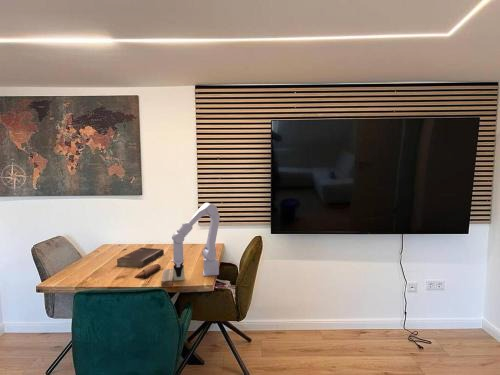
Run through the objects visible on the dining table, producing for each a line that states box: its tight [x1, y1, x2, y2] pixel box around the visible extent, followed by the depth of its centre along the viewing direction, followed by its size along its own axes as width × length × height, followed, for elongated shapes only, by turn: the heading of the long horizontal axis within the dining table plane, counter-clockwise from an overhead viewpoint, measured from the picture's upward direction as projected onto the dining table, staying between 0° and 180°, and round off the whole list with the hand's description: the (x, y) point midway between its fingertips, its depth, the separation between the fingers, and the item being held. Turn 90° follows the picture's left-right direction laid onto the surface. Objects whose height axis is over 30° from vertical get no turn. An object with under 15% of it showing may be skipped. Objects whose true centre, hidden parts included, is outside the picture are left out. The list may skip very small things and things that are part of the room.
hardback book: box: [116, 247, 165, 269], centre depth 217 cm, size 29×19×5 cm, turn 167°
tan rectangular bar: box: [160, 268, 174, 287], centre depth 181 cm, size 6×20×3 cm, turn 12°
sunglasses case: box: [133, 263, 162, 280], centre depth 190 cm, size 18×7×7 cm, turn 167°
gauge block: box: [172, 264, 185, 282], centre depth 181 cm, size 6×5×7 cm
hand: (178, 275), depth 181 cm, fingers closed on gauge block, 5 cm apart
